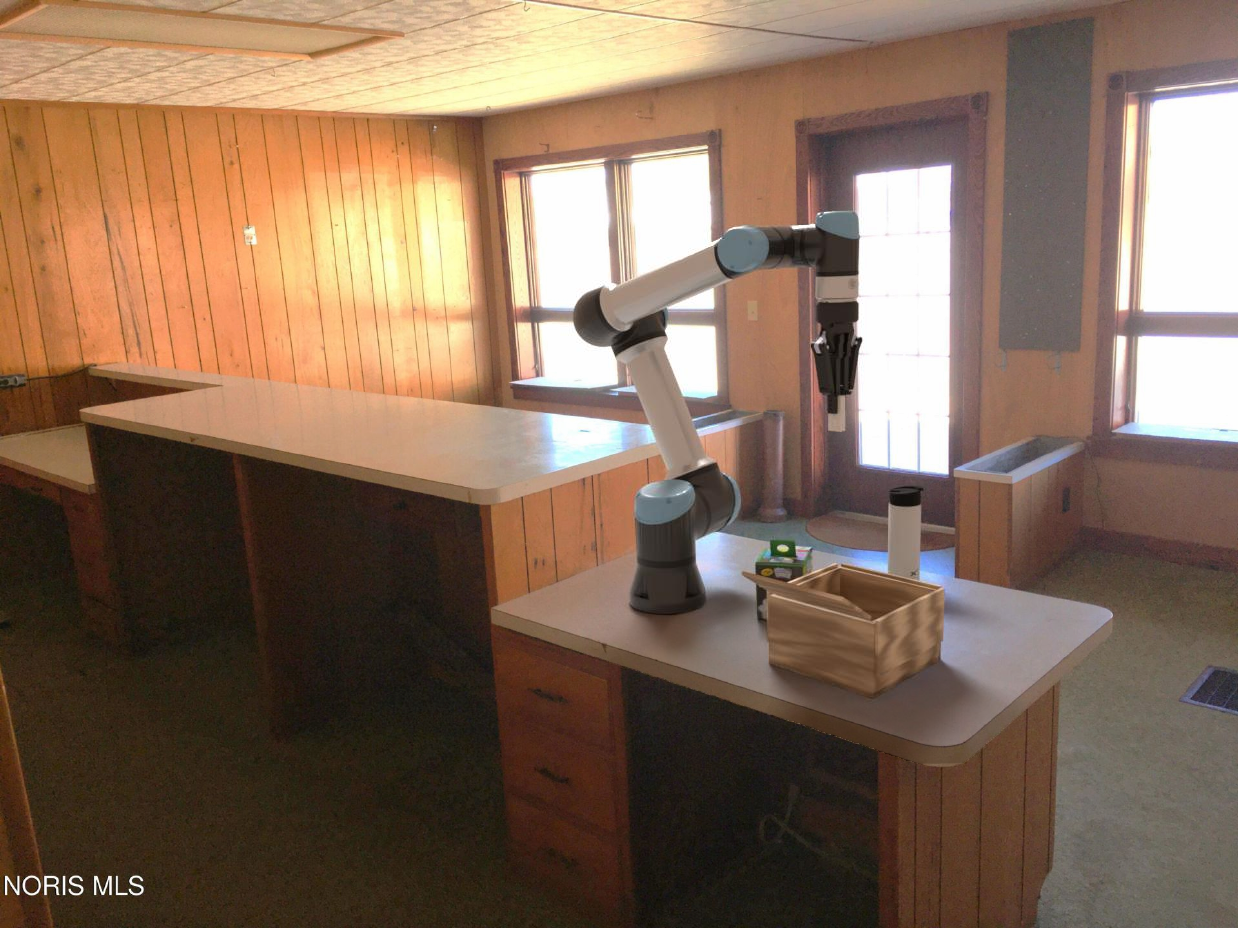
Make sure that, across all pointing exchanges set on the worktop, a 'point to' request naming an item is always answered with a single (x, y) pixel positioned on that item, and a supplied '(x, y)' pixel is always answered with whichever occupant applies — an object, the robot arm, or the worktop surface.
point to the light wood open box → (858, 629)
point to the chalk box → (780, 568)
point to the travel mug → (904, 531)
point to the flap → (807, 595)
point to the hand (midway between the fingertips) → (836, 430)
